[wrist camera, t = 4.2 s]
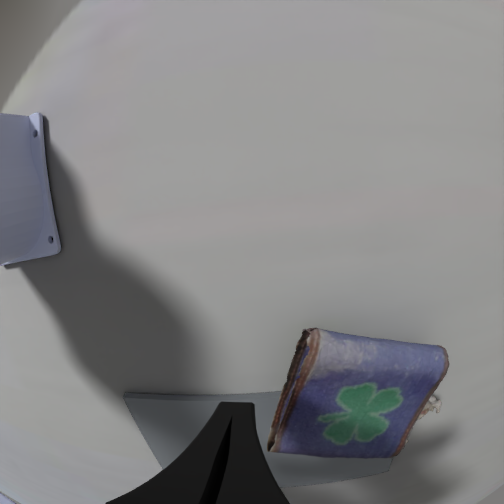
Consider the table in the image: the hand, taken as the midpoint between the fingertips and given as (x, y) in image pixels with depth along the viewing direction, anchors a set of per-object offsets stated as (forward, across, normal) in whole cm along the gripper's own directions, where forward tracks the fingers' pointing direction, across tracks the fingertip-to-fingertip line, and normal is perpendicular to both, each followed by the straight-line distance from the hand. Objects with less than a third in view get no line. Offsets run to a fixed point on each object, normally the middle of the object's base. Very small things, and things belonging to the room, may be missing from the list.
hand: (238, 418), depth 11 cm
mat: (+6, -1, +10) cm, 12 cm away
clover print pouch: (+4, -2, +3) cm, 5 cm away
